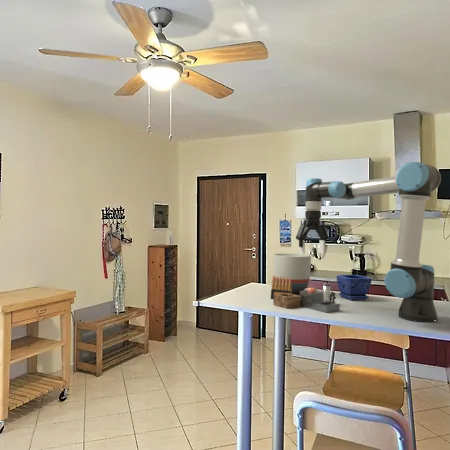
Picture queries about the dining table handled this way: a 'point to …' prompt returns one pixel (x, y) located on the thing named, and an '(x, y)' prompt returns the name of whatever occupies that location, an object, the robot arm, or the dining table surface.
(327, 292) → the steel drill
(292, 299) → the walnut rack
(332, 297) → the valve
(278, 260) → the planter
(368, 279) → the flower pot
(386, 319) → the dining table surface
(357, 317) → the dining table surface
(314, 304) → the socket block
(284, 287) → the ammunition clip
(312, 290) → the release button
